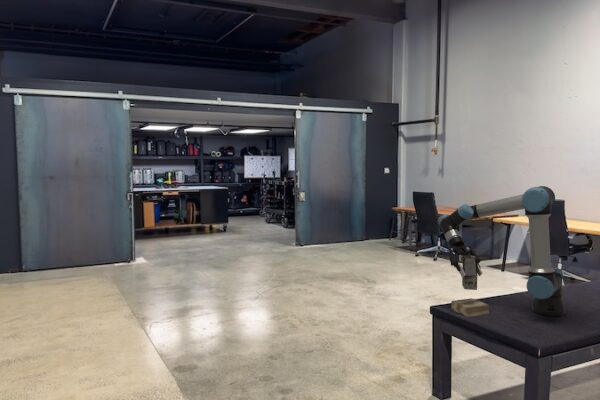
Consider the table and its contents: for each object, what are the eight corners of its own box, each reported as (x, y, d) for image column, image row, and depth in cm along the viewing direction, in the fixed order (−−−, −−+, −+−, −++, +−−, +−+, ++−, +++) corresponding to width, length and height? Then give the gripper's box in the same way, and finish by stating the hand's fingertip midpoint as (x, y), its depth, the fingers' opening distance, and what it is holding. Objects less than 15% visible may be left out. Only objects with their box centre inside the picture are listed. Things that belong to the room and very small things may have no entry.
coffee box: (477, 290, 242) (478, 258, 241) (464, 289, 243) (464, 258, 242) (474, 285, 251) (475, 255, 249) (461, 285, 252) (462, 254, 251)
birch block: (488, 314, 244) (489, 305, 243) (467, 317, 239) (468, 307, 239) (471, 307, 256) (471, 298, 256) (451, 310, 252) (451, 300, 251)
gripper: (469, 242, 264) (487, 277, 250) (433, 245, 258) (450, 281, 244) (475, 234, 259) (494, 269, 245) (439, 236, 252) (456, 273, 239)
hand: (472, 275), depth 244 cm, fingers closed on coffee box, 9 cm apart
